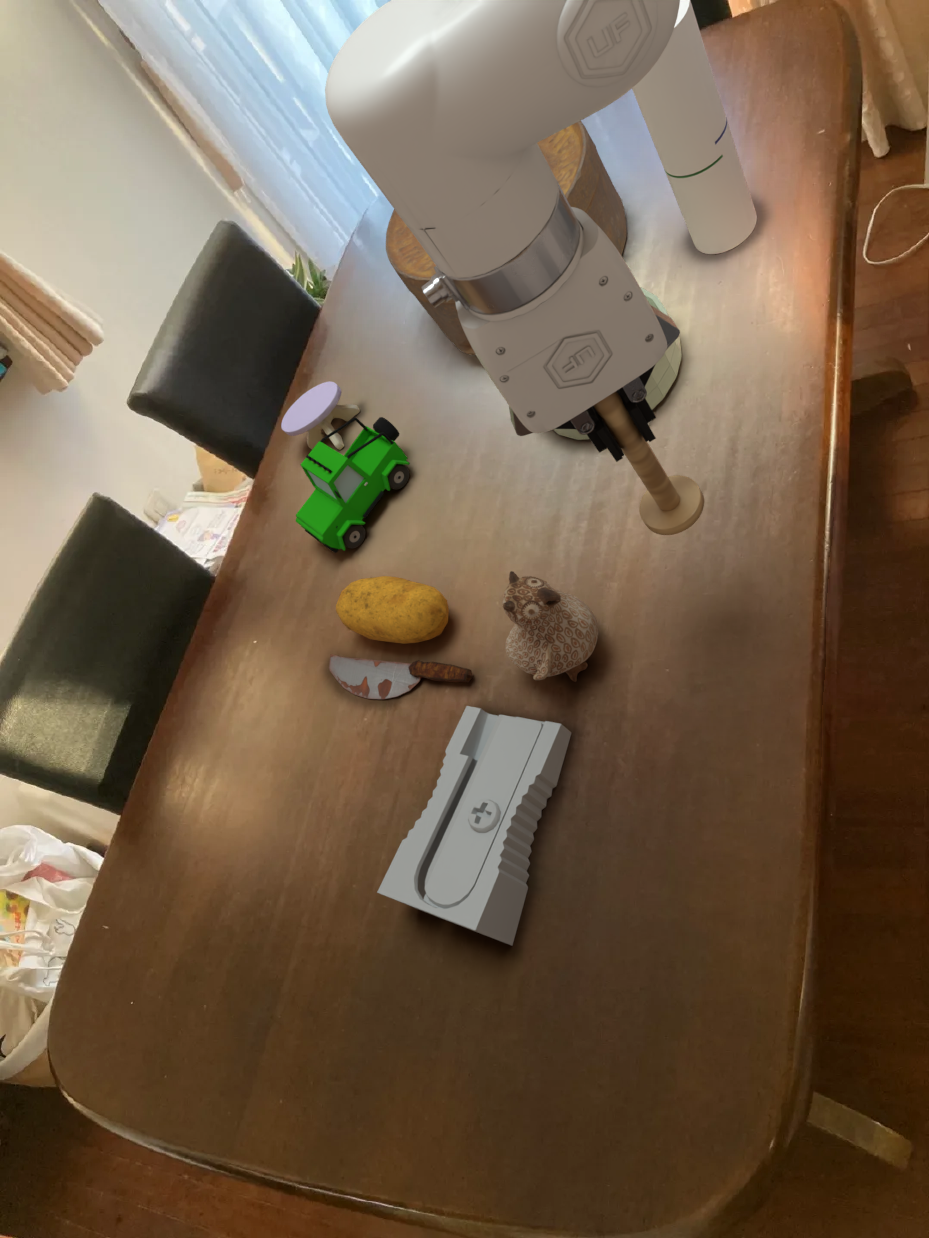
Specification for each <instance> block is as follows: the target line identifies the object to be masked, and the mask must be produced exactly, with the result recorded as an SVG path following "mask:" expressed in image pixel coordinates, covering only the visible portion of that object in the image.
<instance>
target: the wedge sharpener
mask: <svg viewBox="0 0 929 1238" xmlns="http://www.w3.org/2000/svg"><path fill="white" fill-rule="evenodd" d="M571 736H572V732H571V731H570V730H569V729H568V728H567V727H566V726H564V725H563V724H562V723H559V722H553V721H549V720H545V721H541V720H536V719H530V718H525V717H520V716H510V715H505V714H498V715H496V714H492V713H489V712H487V711H485V710H483V709H482V708H480V707H475V706H469V705H466V706H465V709H464V710H463V713H462V714H461V717H460V718H459V721H458V723H457V725H456V727H455V729H454V731H453V734H452V735H451V738H450V740H449V742H448V744H447V746H446V749H445V756H444V758H443V759H442V763H443V766H442V767H441V768H440V770H439V772H440V776H439V777H438V779H437V780H436V787H435V788H434V789H433V790H432V797H431V798H430V799H428V801H427V806H426V807H425V809H423V810H422V812H421V815H420V818H418V819H417V820H416V821H415V822H414V825H413V828H411V829H409V830H408V832H407V836H406V837H405V838H404V839H402V840H401V843H400V844H399V847H398V848H397V850H396V852H395V855H394V857H393V859H392V861H391V863H390V865H389V867H388V869H387V871H386V873H385V875H384V877H383V879H382V881H381V884H380V886H379V887H378V890H377V892H376V893H377V894H379V895H381V896H384V897H386V898H389V899H391V900H394V901H396V902H400V903H402V904H404V905H407V906H409V907H411V908H414V909H415V910H419V911H421V912H424V913H427V914H429V915H432V916H434V917H436V918H439V919H442V920H445V921H446V922H450V923H452V924H455V925H456V926H457V925H458V926H460V927H463V928H464V929H468V930H470V931H472V932H476V933H479V934H481V935H483V936H486V937H488V938H491V939H494V940H495V941H499V942H501V943H503V944H506V945H509V946H512V947H513V945H514V941H515V937H516V934H517V930H518V927H519V923H520V920H521V916H522V912H523V908H524V904H525V901H526V897H527V894H528V890H529V886H528V884H527V881H528V880H529V877H530V874H529V872H528V870H529V867H530V865H531V862H530V860H529V857H530V855H532V852H533V851H532V847H531V845H532V844H533V842H534V841H535V837H534V836H535V835H534V833H535V832H536V831H537V829H538V821H539V820H540V819H541V818H542V810H543V809H545V808H546V807H547V803H548V802H547V801H548V799H549V798H551V797H552V795H553V794H552V793H553V789H554V788H556V787H557V785H558V783H559V778H560V774H561V771H562V768H563V764H564V761H565V757H566V754H567V750H568V747H569V743H570V739H571Z"/></svg>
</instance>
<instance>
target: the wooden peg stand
mask: <svg viewBox="0 0 929 1238" xmlns="http://www.w3.org/2000/svg"><path fill="white" fill-rule="evenodd" d="M593 406H594V408H595V409H596V411H597V412H598V414H599V415H600V416H601V418H602V420H603V421H604V423H605V424H606V426H607V427H608V429H609V430H610V432H611V434H612V435H613V437H614V438H615V440H616V441H617V443H618V444H619V446H620V447H621V449H622V451H623V453H624V456H625V458H626V459H627V461H628V462H629V463H630V465H631V467H632V469H634V472H635V473H636V474H637V476H638V478H639V480H640V481H641V482H642V484H643V485H644V487H645V488H646V490H645V492H644V493H643V495H642V496H641V499H640V502H639V506H638V512H639V516H640V518H641V520H642V522H643V523H644V525H645V526H646V527H647V529H648V530H649V531H651V532H652V533H654V534H656V535H660V536H674V535H677V534H681V533H683V532H684V531H686V530H688V529H690V528H691V527H692V526H693V525H694V524H696V522H697V521H698V520H699V518H700V517H701V515H702V514H703V511H704V507H705V497H704V493H703V491H702V490H701V488H700V486H699V485H698V482H696V481H695V480H694V479H692V478H691V477H689V476H686V475H677V474H675V475H669V476H668V474H667V473H666V471H665V469H664V468H663V466H662V464H661V462H660V460H659V459H658V457H657V455H656V453H655V452H654V451H653V449H652V448H651V446H650V444H649V441H647V442H646V441H645V440H644V438H643V436H642V435H641V433H640V431H639V430H638V428H637V426H636V425H635V423H634V421H633V420H632V418H631V417H630V415H629V413H628V411H627V410H626V408H625V406H624V404H623V402H622V399H621V397H620V396H619V394H618V392H617V391H615V392H614V393H612V394H611V395H609V396H608V397H606V398H604V399H603V400H601V401H600V402H598V403H596V404H595V405H593Z"/></svg>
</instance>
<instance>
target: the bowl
mask: <svg viewBox="0 0 929 1238" xmlns="http://www.w3.org/2000/svg"><path fill="white" fill-rule="evenodd" d="M640 288H641V289H642V291H643V293H644V295H645V296H646V298H647V300H648V302H649V304H650V305H652V306H653V307H655V308H656V309H658V310H660V311H661V312H663V313H664V314H666V315H667V316H669V317H670V318H671V316H670V314H669V312H668V310H667V309H666V307H665V306H664V304H663V302H662V301H661V299H660V298H659V297H658V295H657V294H654V293H653V292H651V291H649V290H647V289H645V288H644V287H641V286H640ZM682 356H683V352H682V345H681V339H680V335H679V336H678V338H677V339H676V340H675V341H674V342H673V343H672V344H671V345H670V347H669V348H668V349H667V350H666V352H665V354H664V355H663V356H662V358H661V359H660V360H659V361H658V362H657V363H656V365H655V367H654V369H653V371H652V373H651V375H650V377H649V379H648V382H647V384H646V386H645V389H646V391H647V395H646V397H645V399H646V401H647V402H648V404H649V406H650V408H651V409H652V410H654V409H655V408H656V407H657V406H658V405H659V404H660V403H661V402H662V401H663V400H664V399H665V397H666V396H667V394H668V392H669V391H670V389H671V387H672V385H674V382H675V380H676V379H677V377H678V373H679V369H680V365H681V361H682ZM552 431H553V432H555V433H556V434H557V435H559V436H563V437H565V438H566V437H567V438H570V439H573V440H575V441H576V440H577V441H582V440H590V439H589V437H588V436H587V434H586V435H582V434H580V433H579V432H578V431H577V429H553V430H552Z"/></svg>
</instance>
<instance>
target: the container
mask: <svg viewBox="0 0 929 1238" xmlns="http://www.w3.org/2000/svg"><path fill="white" fill-rule="evenodd" d="M537 144H538V146H539V148H540V150H541V151H542V153H543V155H544V157H545V159H546V161H547V163H548V165H549V167H550V169H551V171H552V172H553V174H554V176H555V178H556V180H557V182H558V183H559V185H560V187H561V189H562V191H563V193H564V195H565V197H566V199H567V201H568V202H569V204H570V206H571V207H575V208H578V209H581V210H583V211H584V212H585V213H587V214H588V216H589V217H590V218H591V219H592V220H593V221H594V222H595V223H596V224H597V225H598V226H599V227H600V228H601V229H602V231H603V232H604V233H605V234H606V235H607V237H608V238H609V239H610V240H611V242H612V243H613V244H614V246H615V247H616V248H617V250H618V251H619V253H620V255H621V256H623V253H624V252H623V251H624V249H625V245H626V240H627V234H628V233H627V220H626V219H627V218H626V213H625V207H624V203H623V199H622V198H621V196H620V194H619V192H618V191H617V189H616V187H615V185H614V183H613V181H612V179H611V177H610V174H609V173H608V171H607V168H606V167H605V164H604V162H603V160H602V158H601V156H600V154H599V152H598V149H597V146H596V144H595V142H594V141H593V139H592V136H591V135H590V133H589V131H588V129H587V128H586V126H585V125H584V123H583V121H582V120H581V121H579V122H577V123H575V124H573V125H571V126H569V127H567V128H565V129H563V130H561V131H559V132H557V133H555V134H553V135H551V136H549V137H547V138H545V139H543V140H541V141H539V142H538V143H537ZM385 232H386V233H385V252H386V256H387V260H388V261H389V264H390V265H391V267H392V268H393V270H394V271H395V273H396V274H397V275H398V277H399V278H400V280H401V281H402V283H403V284H404V286H405V287H406V289H407V290H408V291H409V292H410V294H412V295H413V296H414V297H415V299H416V300H417V301H418V302H419V304H420V305H421V306H422V308H423V309H424V310H425V312H426V313H427V314H428V315H429V316H430V318H431V319H432V321H433V322H434V324H436V325H437V326H438V328H439V329H440V330H441V331H442V333H443V334H444V335H445V336H446V337H447V338H448V340H450V342H451V343H452V344H453V345H454V346H455V347H456V348H457V349H458V350H459V351H460V352H462V353H463V354H466V355H469V356H476V354H475V352H474V350H473V349H472V347H471V345H470V343H469V341H468V339H467V337H466V335H465V332H464V330H463V328H462V325H461V323H460V320H459V317H458V312H457V309H456V303H455V301H454V300H453V299H451V300H449V301H448V302H446V301H443V302H442V303H441V304H439V305H438V306H436V307H433V306H432V304H431V303H430V302H429V300H428V299H427V297H426V296H425V294H424V292H423V290H422V286H423V285H425V284H426V283H427V282H429V281H430V280H431V276H433V275H434V274H436V272H435V269H434V267H435V266H436V265H435V263H434V262H433V261H432V259H431V258H430V257H429V255H428V254H427V253H426V251H425V250H424V248H423V247H422V246H421V244H420V243H419V241H418V240H417V239H416V237H415V236H414V234H413V233H412V232H411V231H410V229H409V228H408V227H407V225H406V224H405V223H404V221H403V220H402V219H401V217H400V216H399V215H398V213H397V212H396V211H395V209H394V208H393V211H392V213H391V215H390V218H389V221H388V224H387V228H386V231H385Z"/></svg>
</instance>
